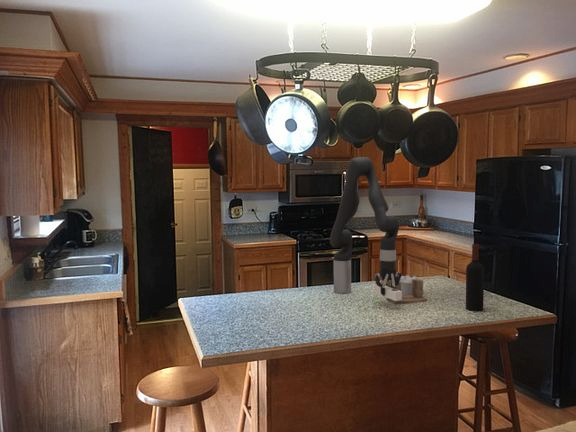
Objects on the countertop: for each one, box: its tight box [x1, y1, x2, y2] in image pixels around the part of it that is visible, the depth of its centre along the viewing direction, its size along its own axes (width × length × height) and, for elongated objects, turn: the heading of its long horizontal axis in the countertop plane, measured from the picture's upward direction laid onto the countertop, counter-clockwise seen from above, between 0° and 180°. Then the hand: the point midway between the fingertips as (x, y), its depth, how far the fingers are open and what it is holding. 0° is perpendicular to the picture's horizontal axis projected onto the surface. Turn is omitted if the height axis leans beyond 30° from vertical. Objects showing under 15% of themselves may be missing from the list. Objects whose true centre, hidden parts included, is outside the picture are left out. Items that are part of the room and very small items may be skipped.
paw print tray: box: [400, 275, 418, 295], centre depth 252 cm, size 10×13×9 cm
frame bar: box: [373, 284, 402, 301], centre depth 227 cm, size 16×4×4 cm, turn 27°
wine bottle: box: [465, 243, 485, 312], centre depth 219 cm, size 8×8×30 cm
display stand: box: [385, 278, 428, 305], centre depth 238 cm, size 10×17×10 cm, turn 106°
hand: (387, 294), depth 227 cm, fingers closed on frame bar, 4 cm apart
